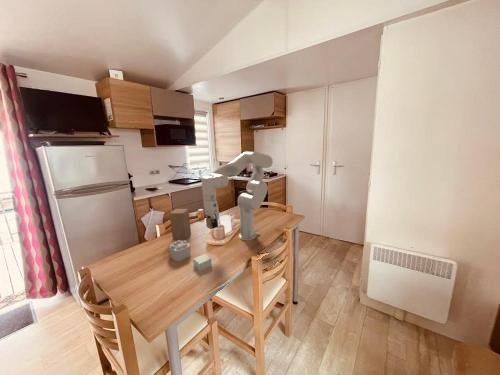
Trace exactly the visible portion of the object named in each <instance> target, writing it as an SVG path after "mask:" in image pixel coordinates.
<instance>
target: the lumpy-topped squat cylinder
mask: <svg viewBox="0 0 500 375" xmlns="http://www.w3.org/2000/svg"><path fill="white" fill-rule="evenodd" d="M191 251H192V249H191V244H190V243H189V242H187V240H174V241H173V242H171V243H170V244H169V254H170V259H172V260H173V261H175V262H181V261H183V260H185V259H188V258H191V256H192V252H191Z"/></svg>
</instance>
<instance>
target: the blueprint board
mask: <svg viewBox="0 0 500 375" xmlns="http://www.w3.org/2000/svg"><path fill="white" fill-rule="evenodd" d="M191 266H192V268H194V270H196V271H197V272H198V273H202V272H204V271H206V270H208V269H210V268H212V267H214V266H215V264H213V263H212V265H211V266H209V267H207V268H205V269H203V270H201V271H200V270H199V269H198V268H196V267H195V266H194V263H193V264H191Z"/></svg>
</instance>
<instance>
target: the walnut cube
mask: <svg viewBox="0 0 500 375" xmlns="http://www.w3.org/2000/svg"><path fill="white" fill-rule="evenodd" d="M214 219H215V217H214ZM218 220H219V219H218ZM218 220H217V227H216V228H218V227H219V223H218ZM205 222H206V225H205V226H206V228H208V229H210V230H213V229H214V228H212V222H213V221H212V217H211V218H208V219H206V218H205Z"/></svg>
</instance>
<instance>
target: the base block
mask: <svg viewBox="0 0 500 375" xmlns="http://www.w3.org/2000/svg"><path fill="white" fill-rule="evenodd" d="M192 259H193V264H194V266H195V267H196V268H198V269H199V270H200V271H201V270H203V269H205V268H207V267H209V266H211V265H212V264H213V262H212V258H211V257H209V256H208V255H207V254H205V253H203V254H201V255H199V256H197V257H194V258H192Z"/></svg>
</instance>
